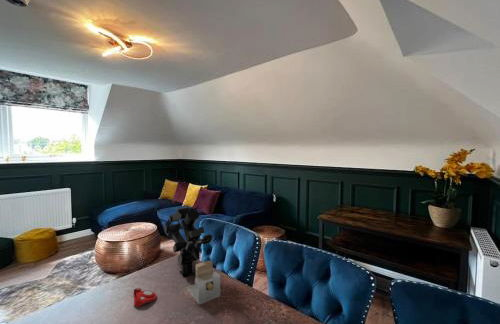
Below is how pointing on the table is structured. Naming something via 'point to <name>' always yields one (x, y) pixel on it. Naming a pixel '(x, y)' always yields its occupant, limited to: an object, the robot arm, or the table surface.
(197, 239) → the robot arm
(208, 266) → the shaft carriage
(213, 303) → the table surface
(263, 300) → the table surface
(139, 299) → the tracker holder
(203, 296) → the bearing block
